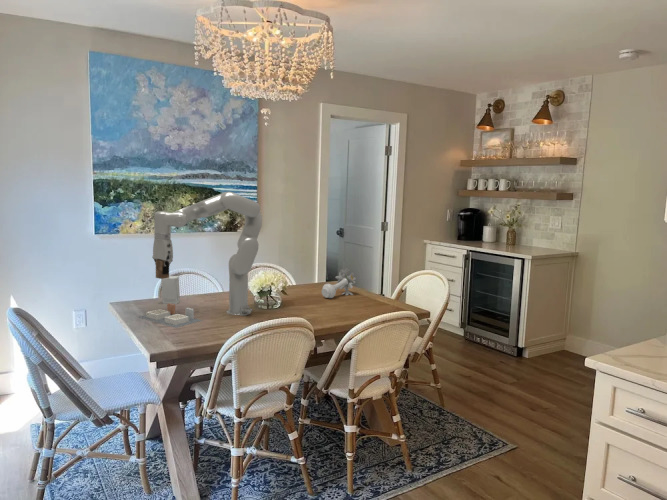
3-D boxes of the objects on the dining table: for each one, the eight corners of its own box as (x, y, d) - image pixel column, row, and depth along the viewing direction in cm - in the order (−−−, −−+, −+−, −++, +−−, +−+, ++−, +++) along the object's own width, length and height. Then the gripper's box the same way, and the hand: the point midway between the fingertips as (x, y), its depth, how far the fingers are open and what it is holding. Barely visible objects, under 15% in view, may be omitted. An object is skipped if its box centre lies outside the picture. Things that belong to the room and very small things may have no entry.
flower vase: (332, 310, 299) (358, 294, 316) (332, 284, 291) (359, 268, 308) (317, 303, 307) (343, 287, 324) (316, 277, 299) (343, 262, 316)
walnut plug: (169, 277, 246) (169, 259, 245) (161, 278, 243) (161, 260, 242) (163, 276, 249) (163, 258, 248) (155, 277, 245) (155, 259, 244)
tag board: (202, 322, 243) (202, 315, 243) (175, 329, 230) (175, 322, 230) (164, 312, 259) (164, 305, 259) (137, 318, 246) (137, 312, 245)
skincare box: (180, 303, 280) (179, 275, 278) (176, 306, 273) (176, 278, 271) (165, 302, 279) (164, 275, 277) (161, 305, 273) (161, 277, 271)
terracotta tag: (175, 314, 253) (175, 304, 252) (172, 314, 252) (172, 305, 251) (169, 312, 255) (169, 303, 255) (167, 313, 254) (167, 303, 253)
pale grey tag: (193, 318, 245) (193, 309, 244) (191, 319, 244) (191, 309, 243) (187, 317, 248) (187, 307, 247) (185, 318, 246) (185, 308, 246)
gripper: (180, 237, 242) (179, 274, 244) (158, 234, 251) (158, 270, 253) (167, 238, 235) (166, 276, 238) (145, 235, 245) (145, 272, 247)
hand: (162, 273), depth 245 cm, fingers closed on walnut plug, 4 cm apart
